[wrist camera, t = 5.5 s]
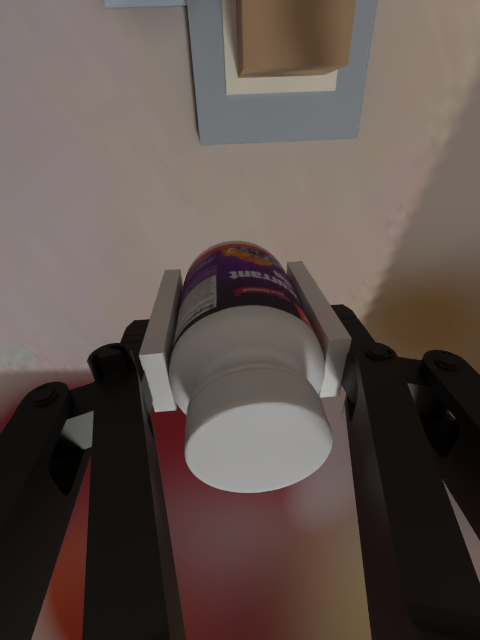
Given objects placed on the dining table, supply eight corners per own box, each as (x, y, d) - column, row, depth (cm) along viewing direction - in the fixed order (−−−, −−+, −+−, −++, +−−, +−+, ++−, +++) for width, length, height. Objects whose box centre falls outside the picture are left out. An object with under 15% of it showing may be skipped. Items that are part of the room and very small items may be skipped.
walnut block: (238, 78, 24) (243, 68, 20) (234, -56, 20) (239, -103, 16) (324, 75, 24) (348, 64, 20) (337, -58, 20) (368, -105, 16)
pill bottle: (305, 276, 16) (402, 433, 8) (243, 342, 18) (270, 520, 10) (223, 214, 14) (241, 342, 6) (164, 297, 16) (117, 476, 8)
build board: (200, 144, 27) (200, 145, 26) (173, -153, 19) (170, -172, 18) (351, 137, 28) (357, 138, 27) (393, -155, 19) (404, -173, 18)
